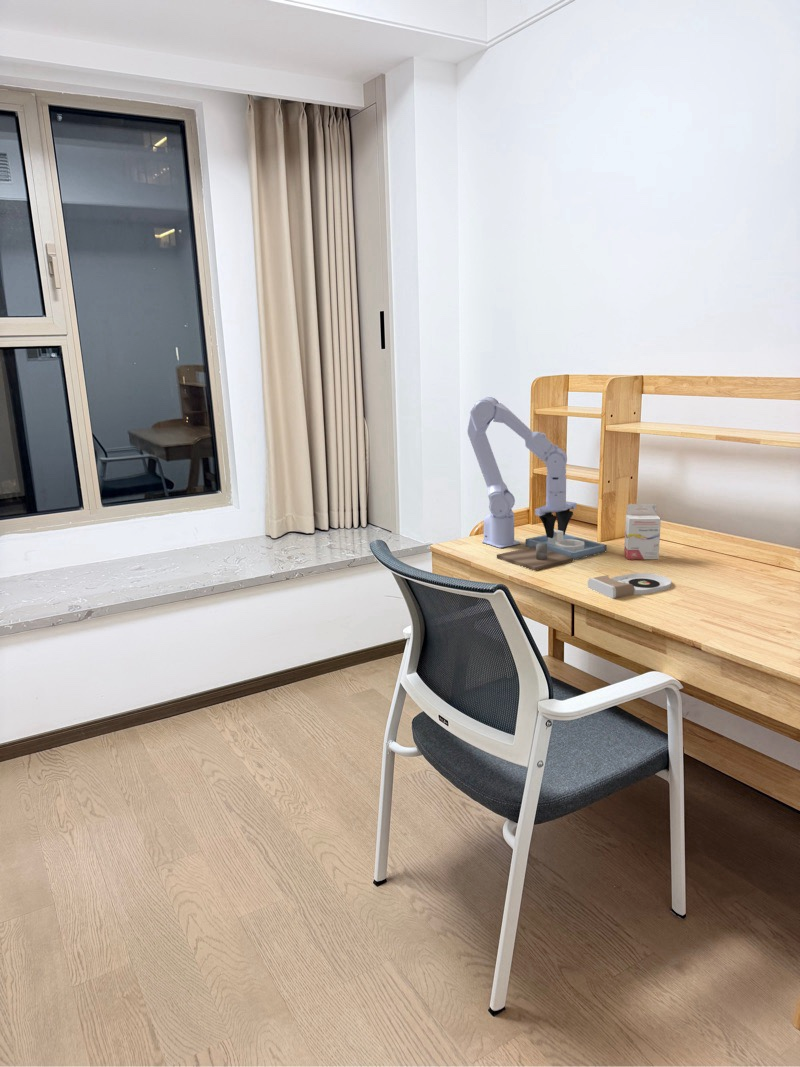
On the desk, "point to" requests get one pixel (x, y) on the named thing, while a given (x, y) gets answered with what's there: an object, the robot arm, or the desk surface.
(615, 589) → the record player
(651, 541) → the ink cartridge box
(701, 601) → the desk surface
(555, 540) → the ring
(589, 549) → the tray
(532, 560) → the stake board
